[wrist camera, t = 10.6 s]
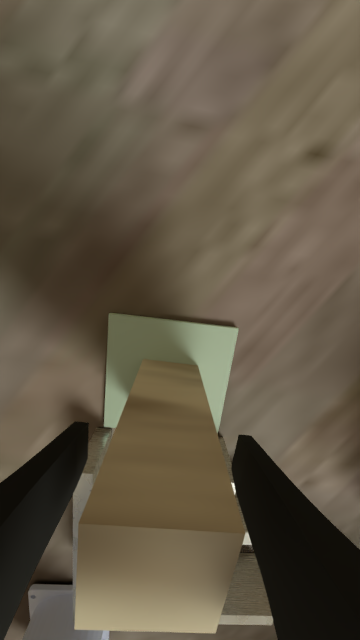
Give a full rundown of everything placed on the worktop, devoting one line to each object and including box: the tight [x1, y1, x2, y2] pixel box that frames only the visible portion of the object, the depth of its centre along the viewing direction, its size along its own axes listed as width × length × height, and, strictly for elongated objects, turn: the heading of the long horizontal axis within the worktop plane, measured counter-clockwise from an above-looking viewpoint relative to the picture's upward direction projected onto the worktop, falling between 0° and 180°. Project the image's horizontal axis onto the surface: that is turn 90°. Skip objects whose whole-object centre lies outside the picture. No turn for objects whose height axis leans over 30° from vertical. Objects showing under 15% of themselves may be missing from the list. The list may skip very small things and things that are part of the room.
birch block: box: [74, 359, 245, 633], centre depth 9 cm, size 4×4×9 cm
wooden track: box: [73, 428, 273, 625], centre depth 15 cm, size 15×16×4 cm
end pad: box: [104, 313, 239, 435], centre depth 14 cm, size 9×9×1 cm
